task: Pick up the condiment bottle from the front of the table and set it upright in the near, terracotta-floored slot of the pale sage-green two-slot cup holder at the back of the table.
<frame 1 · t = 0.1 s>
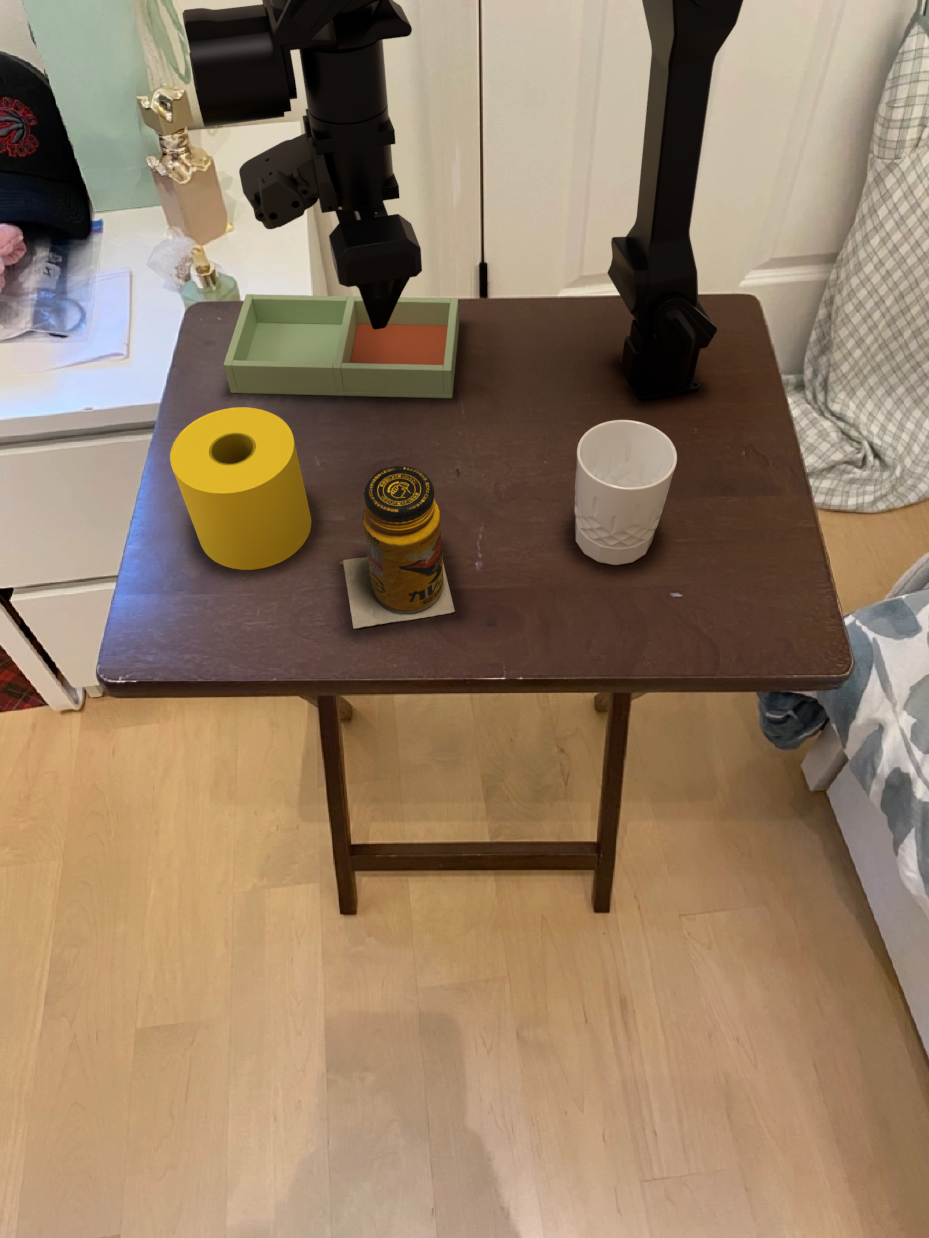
hand: (369, 295, 79), 15 cm above the table, tool pointing down, fingers open, 9 cm apart
white cup: (612, 538, 82), on the table
holder: (348, 358, 97), on the table
yellow toilet paper roll: (255, 528, 84), on the table
condiment: (398, 588, 79), on the table
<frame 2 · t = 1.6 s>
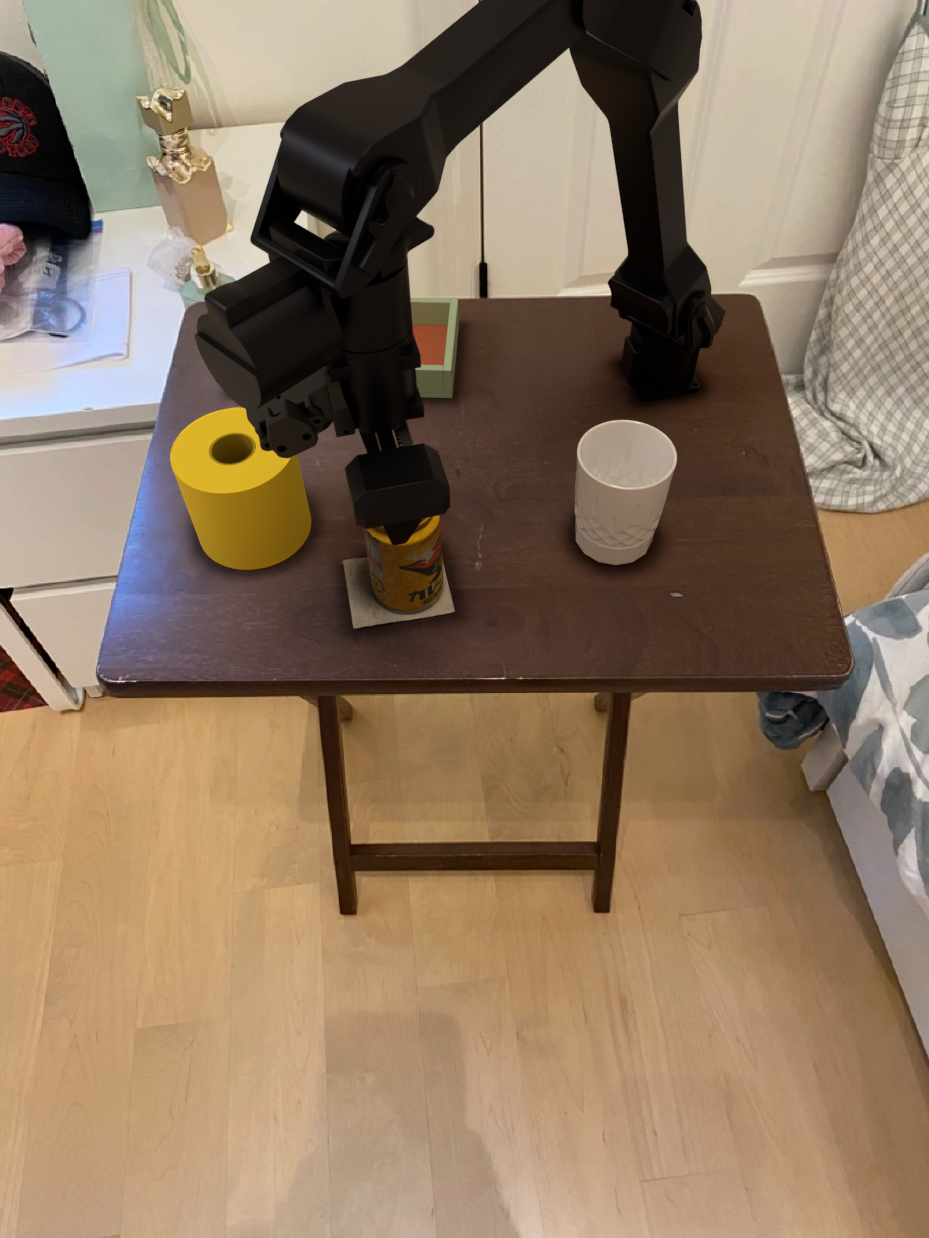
hand: (387, 498, 71), 11 cm above the table, tool pointing down, fingers open, 9 cm apart
nothing on the table moved.
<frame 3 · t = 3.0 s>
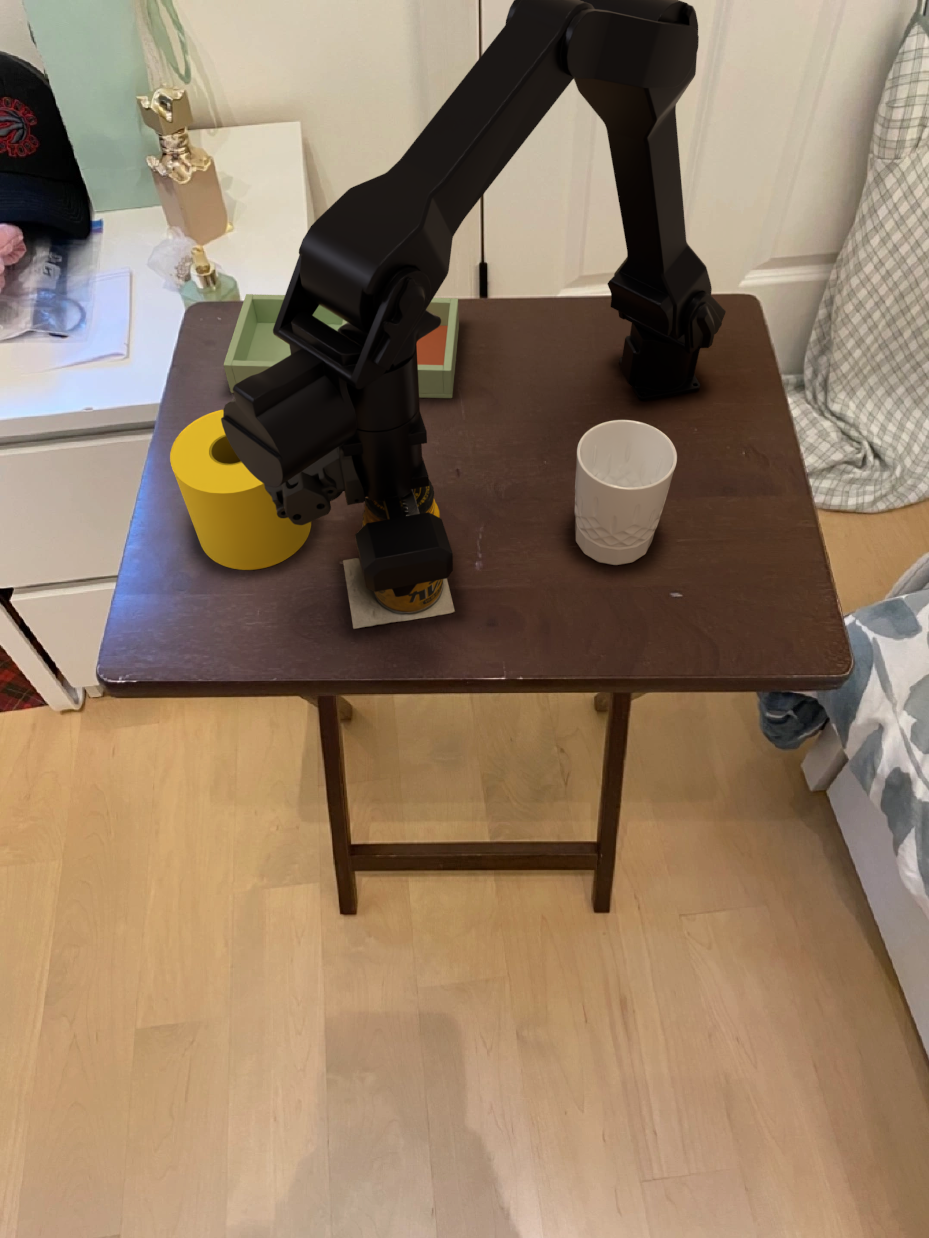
hand: (391, 556, 76), 4 cm above the table, tool pointing down, fingers closed on condiment, 8 cm apart
condiment: (398, 589, 79), on the table, touching gripper
everything else where it was.
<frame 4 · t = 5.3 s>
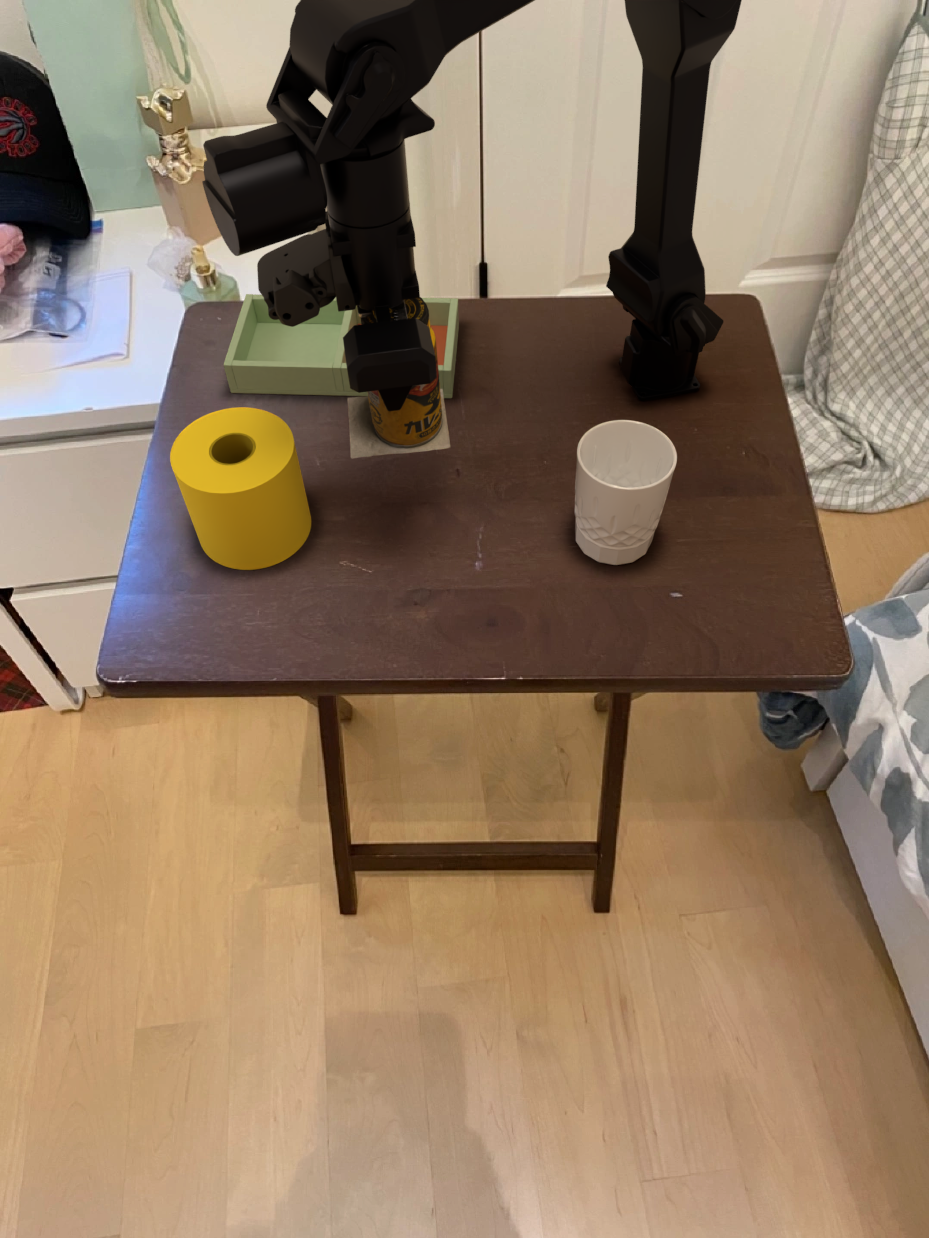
hand: (389, 384, 77), 12 cm above the table, tool pointing down, fingers closed on condiment, 6 cm apart
condiment: (398, 426, 81), point 7 cm above the table, touching gripper
everything else where it was.
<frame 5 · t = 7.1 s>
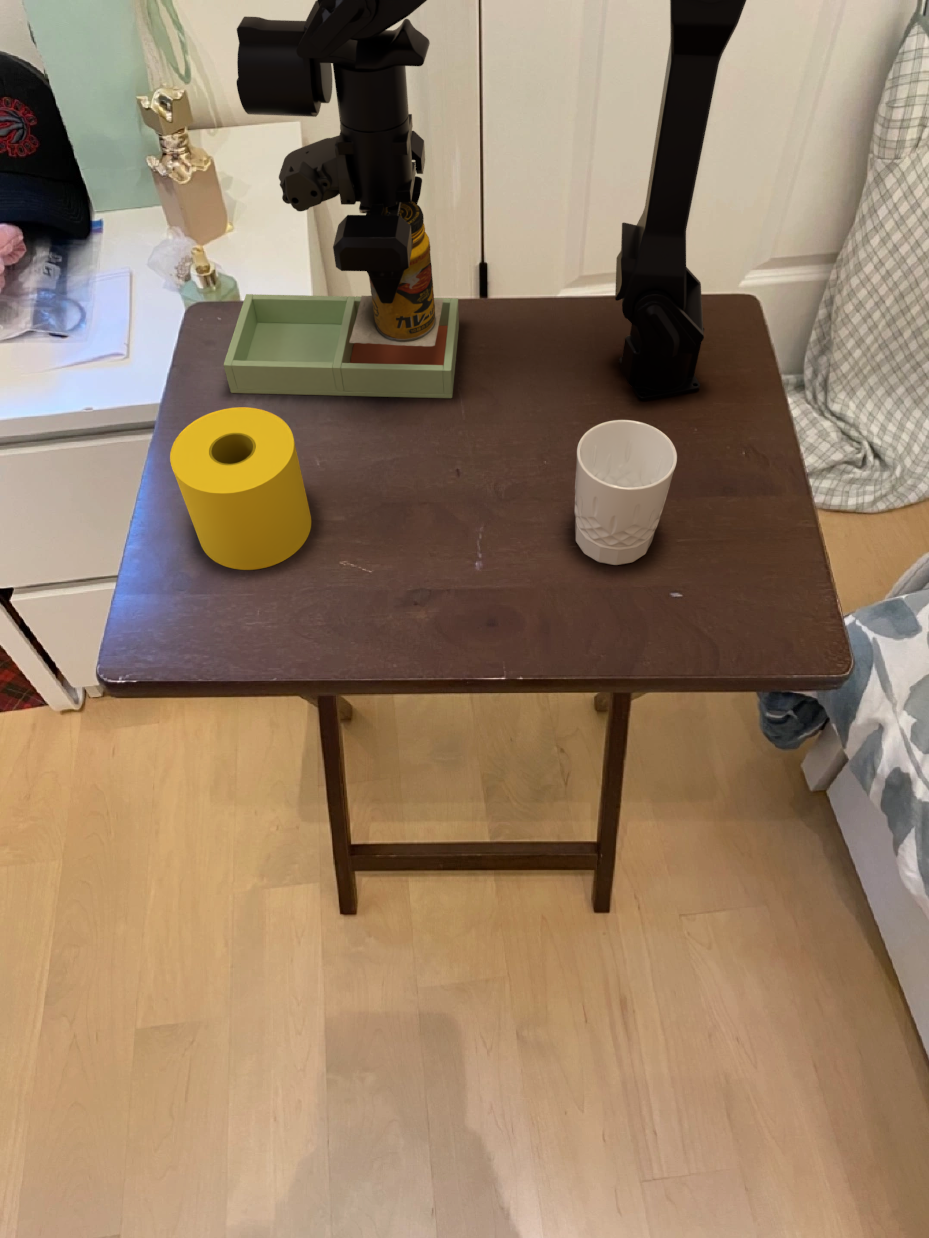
hand: (390, 282, 90), 9 cm above the table, tool pointing down, fingers closed on condiment, 6 cm apart
condiment: (397, 324, 94), point 4 cm above the table, touching gripper
everything else where it was.
when the fingers open (5 cm above the table, at t = 8.4 s): condiment stays where it is, resting on holder.
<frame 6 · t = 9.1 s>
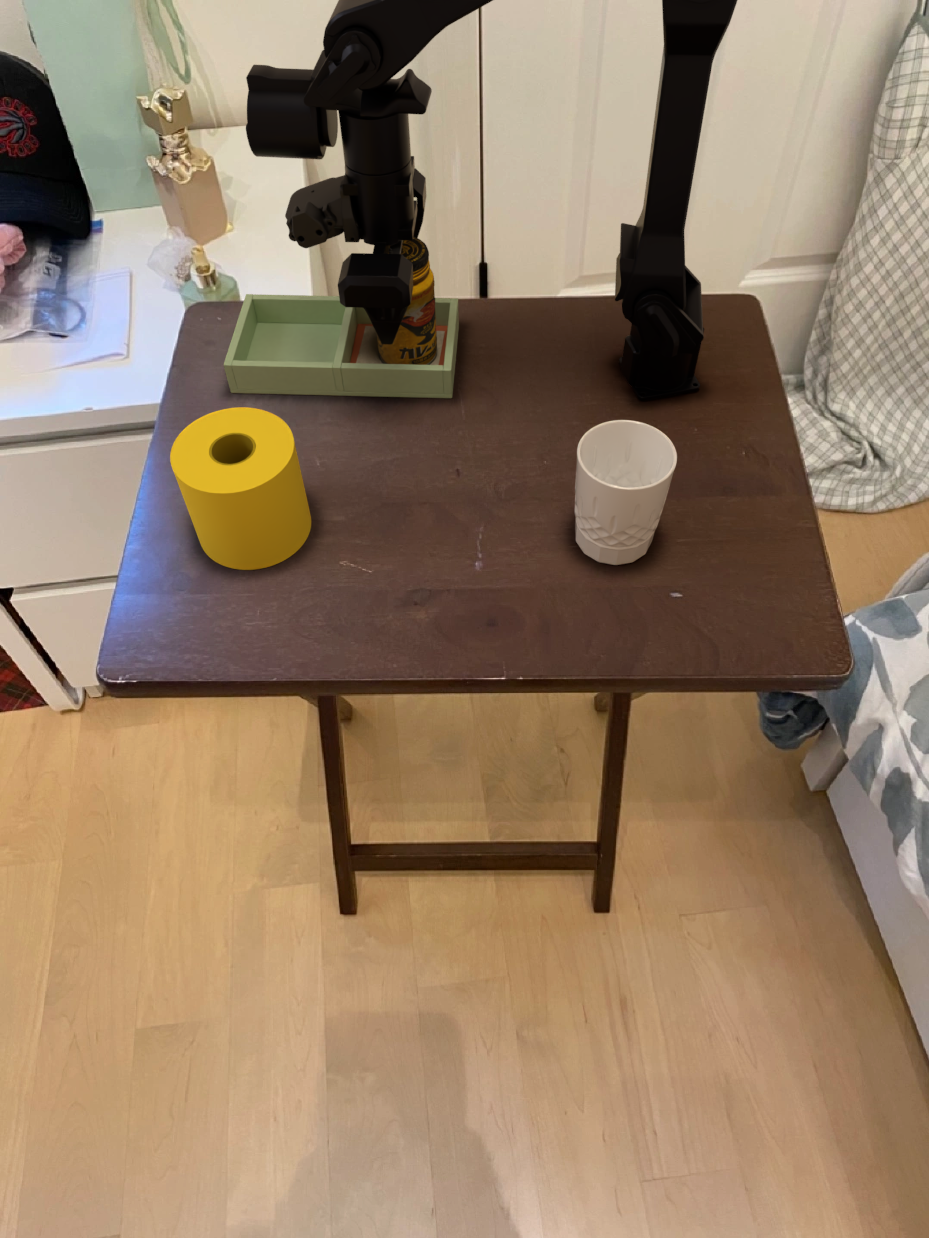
hand: (392, 314, 93), 6 cm above the table, tool pointing down, fingers open, 9 cm apart
condiment: (400, 354, 97), point 1 cm above the table, touching holder
everything else where it was.
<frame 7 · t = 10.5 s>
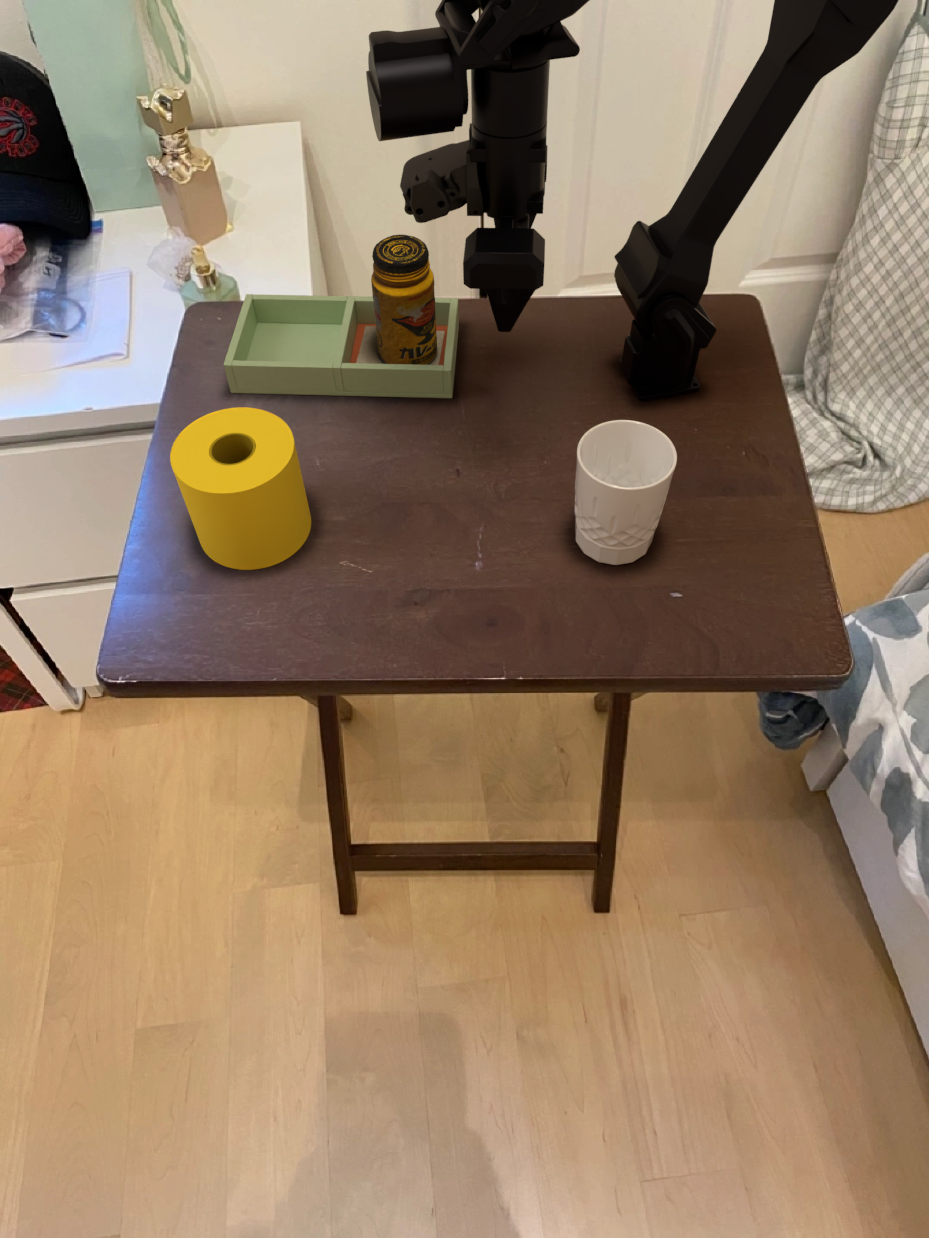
hand: (506, 298, 83), 12 cm above the table, tool pointing down, fingers open, 9 cm apart
nothing on the table moved.
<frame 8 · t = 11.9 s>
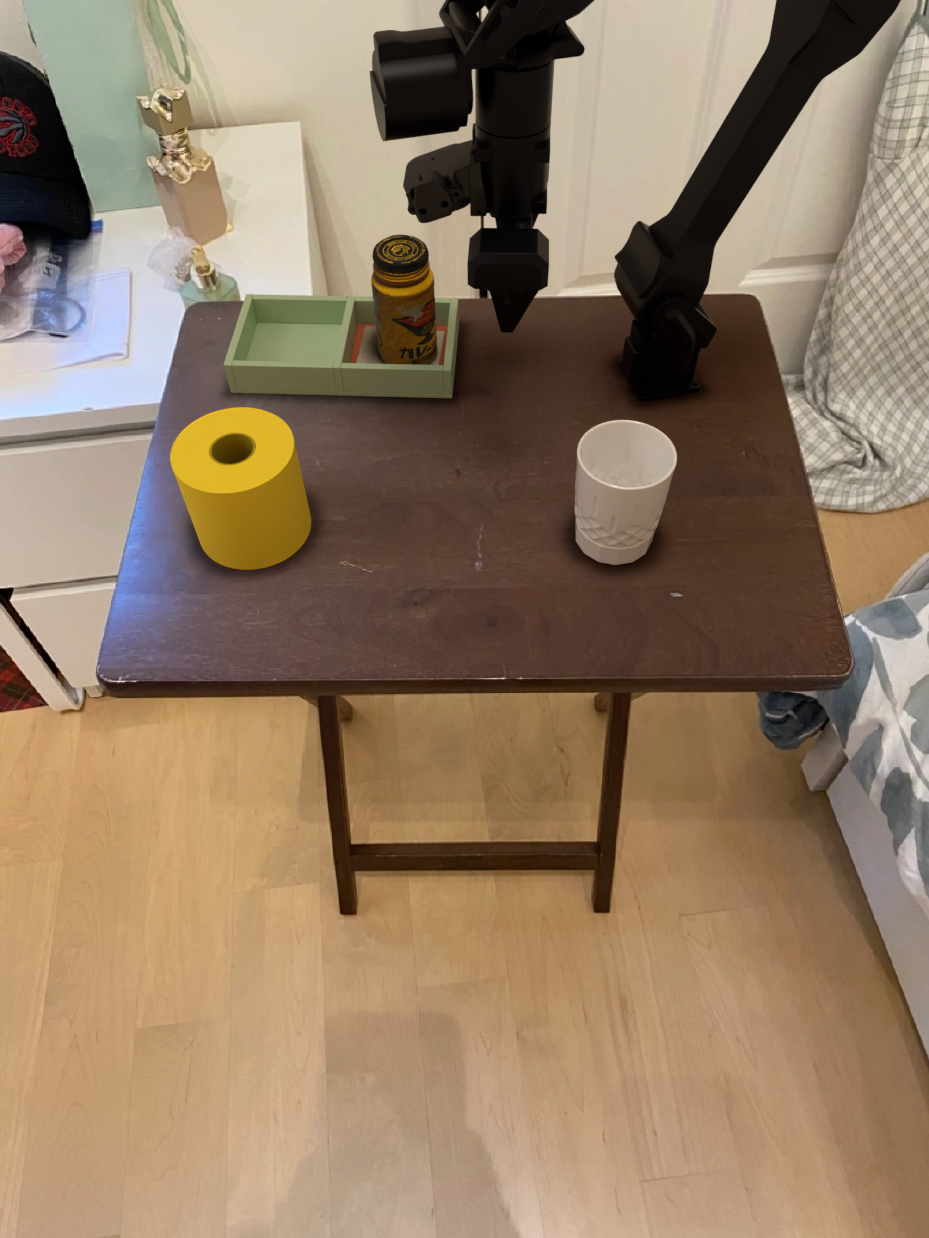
hand: (508, 299, 83), 12 cm above the table, tool pointing down, fingers open, 9 cm apart
nothing on the table moved.
at the end: condiment 0.5 cm from the target spot in the holder, point 0.5 cm above the holder's base; condiment tilted 0°; the gripper is holding nothing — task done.
